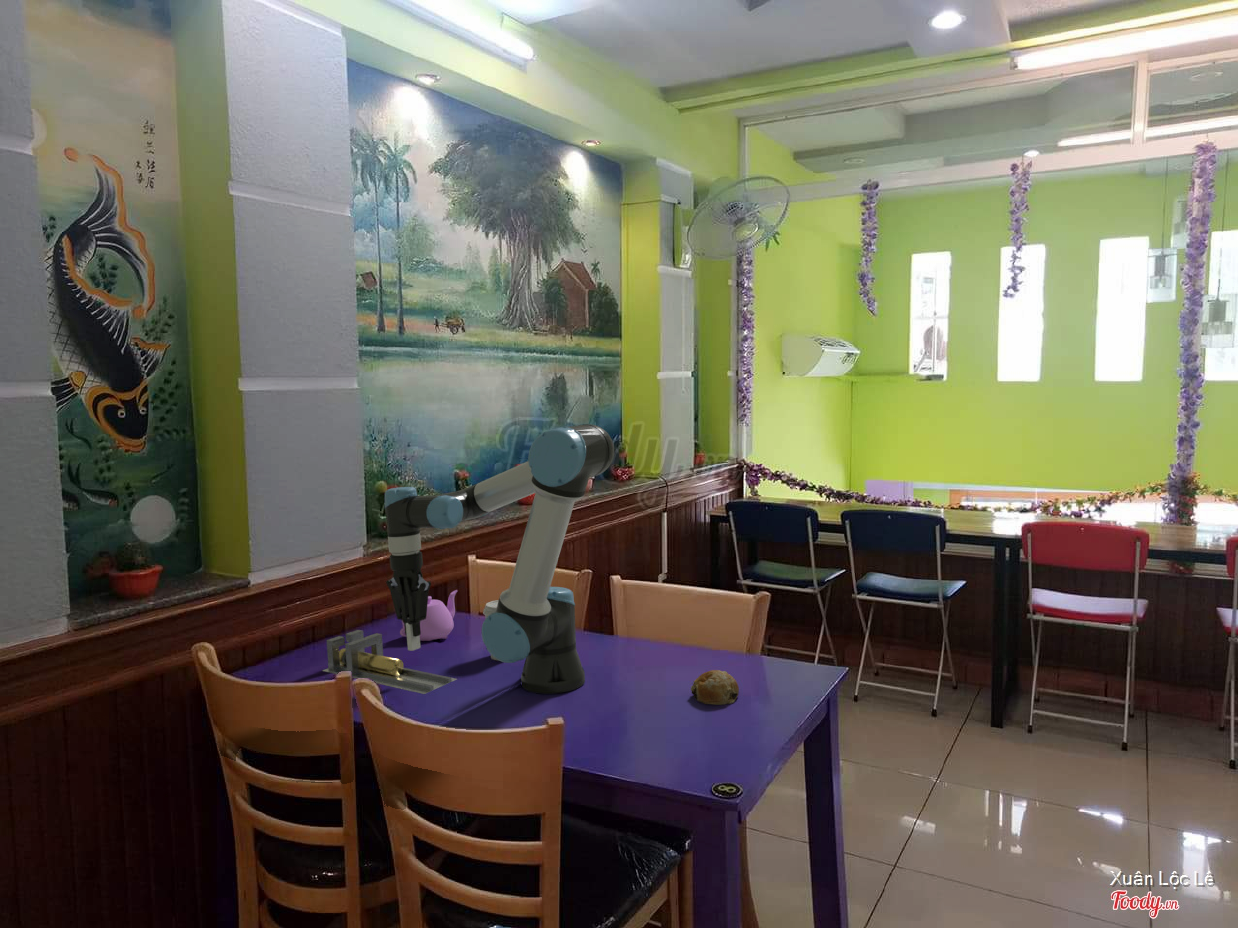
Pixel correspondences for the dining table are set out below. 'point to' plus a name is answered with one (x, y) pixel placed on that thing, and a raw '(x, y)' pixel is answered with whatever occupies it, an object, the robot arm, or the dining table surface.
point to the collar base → (405, 680)
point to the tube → (375, 662)
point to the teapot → (436, 619)
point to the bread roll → (715, 688)
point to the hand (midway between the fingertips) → (414, 648)
